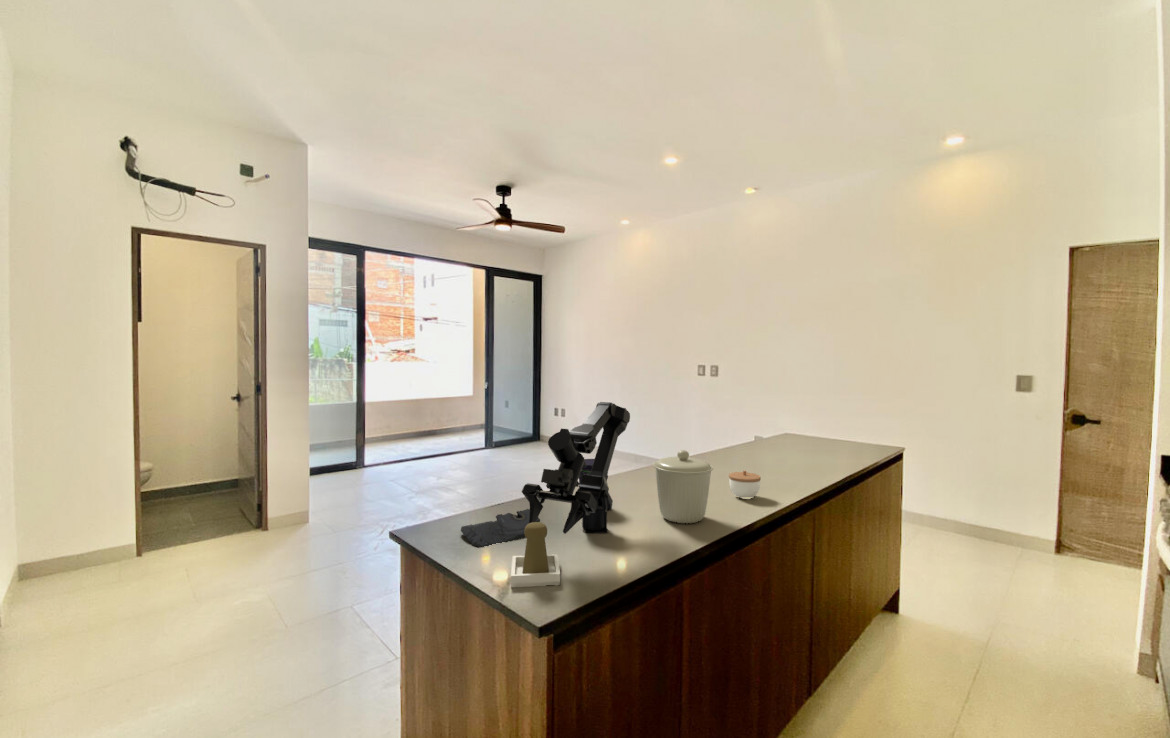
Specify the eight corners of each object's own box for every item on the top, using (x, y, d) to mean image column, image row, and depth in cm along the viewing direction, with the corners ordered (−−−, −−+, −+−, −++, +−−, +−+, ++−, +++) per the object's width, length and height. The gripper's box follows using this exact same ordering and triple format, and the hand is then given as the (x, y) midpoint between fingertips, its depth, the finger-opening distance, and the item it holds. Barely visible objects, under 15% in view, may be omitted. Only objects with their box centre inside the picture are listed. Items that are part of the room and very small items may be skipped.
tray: (557, 564, 118) (557, 554, 118) (560, 585, 108) (560, 573, 108) (512, 566, 117) (512, 556, 117) (510, 587, 106) (510, 576, 106)
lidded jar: (739, 491, 183) (740, 466, 183) (766, 497, 175) (766, 471, 174) (722, 496, 176) (722, 470, 176) (749, 503, 168) (749, 476, 167)
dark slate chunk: (454, 533, 139) (454, 516, 139) (523, 519, 152) (523, 503, 152) (475, 551, 127) (475, 533, 127) (549, 534, 140) (549, 517, 139)
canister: (643, 512, 158) (643, 446, 157) (693, 507, 164) (693, 443, 163) (669, 531, 141) (670, 458, 140) (724, 525, 146) (725, 454, 146)
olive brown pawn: (517, 569, 113) (518, 522, 113) (541, 563, 117) (541, 517, 116) (529, 579, 108) (529, 530, 108) (553, 573, 112) (554, 525, 111)
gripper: (525, 451, 125) (500, 507, 115) (592, 458, 117) (571, 519, 107) (541, 475, 132) (518, 529, 123) (605, 483, 124) (586, 542, 115)
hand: (547, 529), depth 117 cm, fingers open, 9 cm apart
